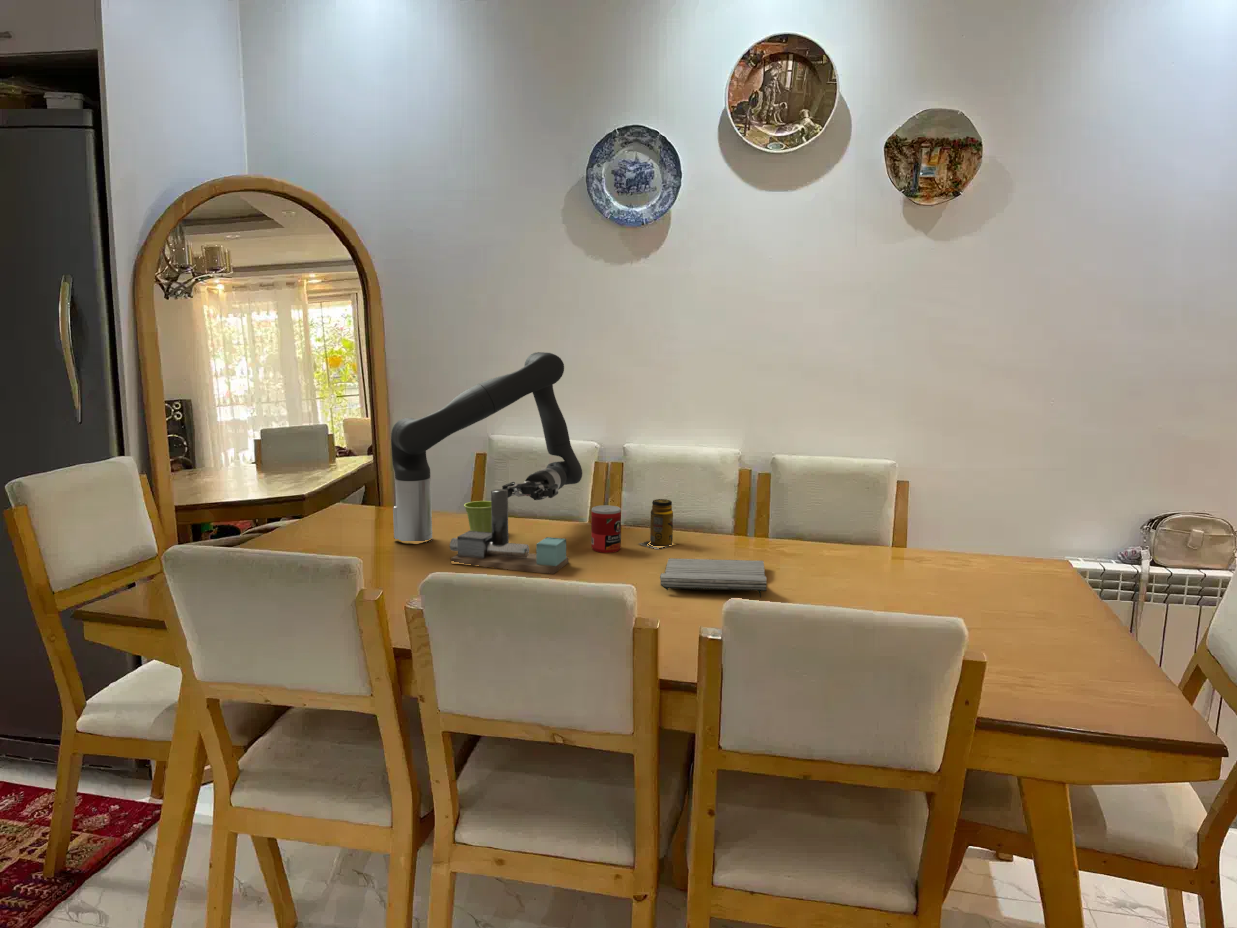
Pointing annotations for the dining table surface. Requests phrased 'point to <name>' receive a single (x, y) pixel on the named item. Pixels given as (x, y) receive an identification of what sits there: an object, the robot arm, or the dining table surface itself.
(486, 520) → the plant pot
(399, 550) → the dining table surface
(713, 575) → the mat
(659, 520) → the condiment
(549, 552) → the socket block
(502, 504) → the slide bolt
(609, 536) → the canned food
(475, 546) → the sleeve
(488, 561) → the board
